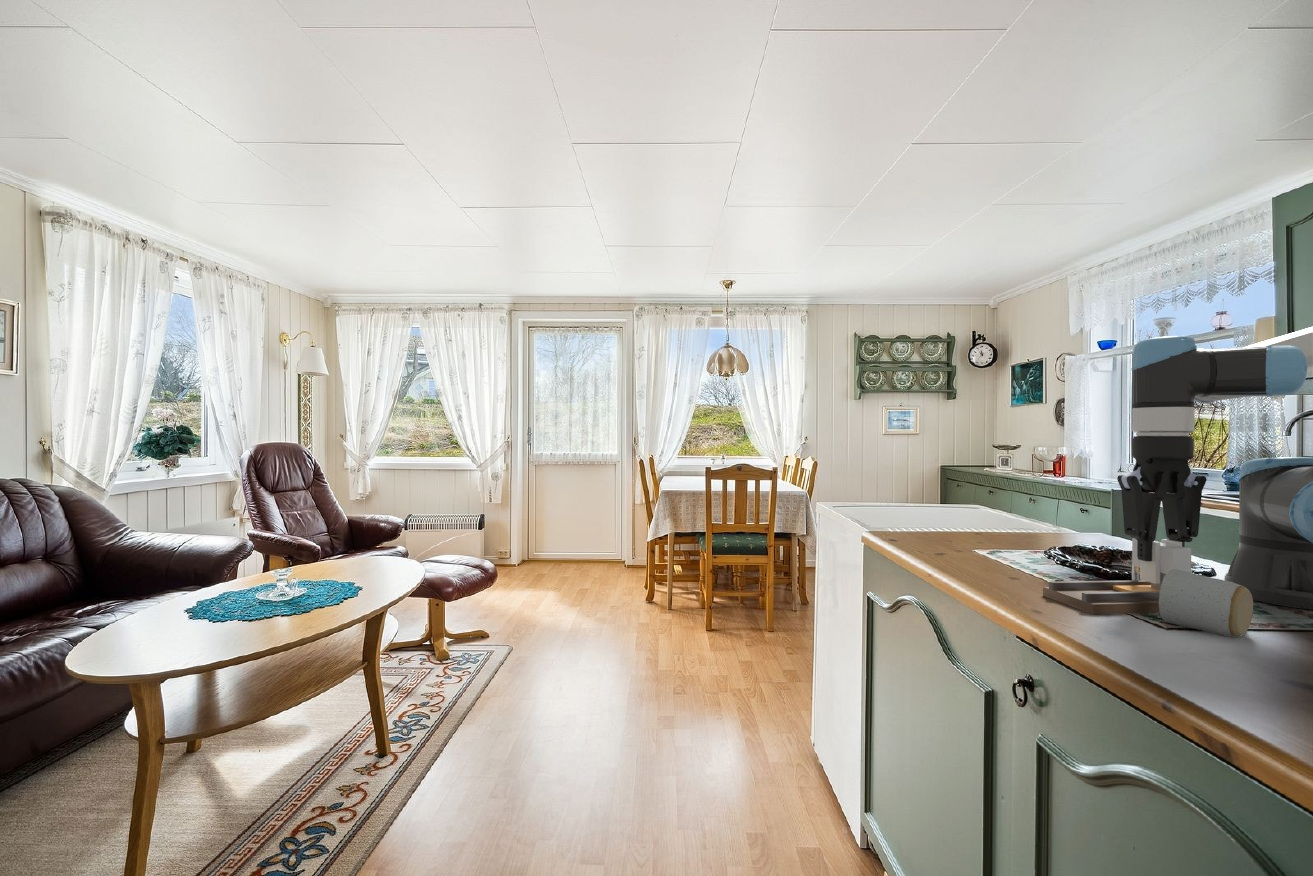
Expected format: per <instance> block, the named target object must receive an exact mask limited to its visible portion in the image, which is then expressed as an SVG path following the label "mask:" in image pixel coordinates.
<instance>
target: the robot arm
mask: <svg viewBox="0 0 1313 876" xmlns="http://www.w3.org/2000/svg"><path fill="white" fill-rule="evenodd" d="M1131 365H1132V367H1131V370H1130V371H1132V378H1131V379H1132V408H1131V409H1132V412H1131V413H1132V414H1131V415H1132V417H1131V418H1132V419H1131V431H1132V432H1133V433H1136V435H1135V436H1133V438H1131V457H1132V458H1134V460H1135V465H1134V467H1132V472H1129V473H1128V474H1126V475H1125V474H1120V475H1117V482H1118V486H1119V487H1120V489H1121V503H1122V513H1123V515H1122V517H1123V529H1124V530H1123V531H1124V532H1123V533H1124V534H1125V535H1126V536H1130V537H1131V538H1135V539H1137V550H1138V551H1137V557H1138V560H1140V567H1139V580H1144V581H1148V582H1151V583H1155V584H1160V542H1162V543H1167V544H1172V545H1177V546H1182V547H1186V546H1185V543H1191V542H1192V541H1193V539H1194V538H1197V537H1198V535H1199V531H1200V516H1201V506H1202V495H1203V490H1204V487H1205V485H1206V483H1207V477H1206V476H1204V475H1197V474H1194V473H1193V472H1191V471H1192V469H1191V468H1190V466H1189V461H1190V460H1193V458H1194V457H1195V438H1193V436H1190V433H1195V402H1199V403H1205V404H1206V403H1207V404H1209V403H1213V402H1217V401H1223V400H1232V399H1239V398H1246V397H1247V398H1248V397H1268V398H1272V397H1275V396H1277V397H1278V396H1291V395H1293V394H1296V393H1297V392H1299V391H1300V390H1301V389H1302V388H1303V386H1304V384H1305V382H1306V380H1307V379H1306V378H1307V377H1311V376H1313V326H1311V327H1307V328H1304V329H1301V330H1297V331H1295V332H1290V333H1288V334H1284V335H1281V336H1277V337H1273V338H1269V339H1267V340H1264V341H1260V342H1256V343H1254V344H1250V345H1247V346H1242V347H1227V348H1225V347H1224V348H1223V347H1222V348H1197V344H1196V340H1195V339H1194V337H1192V336H1188V335H1187V336H1186V335H1169V336H1159V337H1151V338H1145V339H1143V340H1141V341H1139V342H1137V343H1136V344H1135V346H1134V347H1133V357H1132V364H1131ZM1237 481H1238V484H1239V486H1238V487H1239V490H1238V491H1239V492H1238V494H1239V499H1238V501H1239V502H1238V503H1239V504H1238V505H1239V507H1238V508H1239V511H1238V513H1239V515H1238V516H1239V517H1238V521H1239V522H1238V523H1239V524H1238V525H1239V527H1238V529H1239V530H1238V532H1239V533H1238V535H1239V536H1238V537H1239V538H1238V549H1237V551H1236V553H1235V554H1234V557H1233V559H1232V561H1231V563H1230V566H1229V568H1228V571H1227V573H1226V574H1225V575H1224V579H1223V580H1225V581H1229V582H1233V583H1236V584H1239V585H1241V586H1244V587H1246V588H1247V589H1248V590H1249V591H1250V593H1251V595H1252V598H1253V601H1257V602H1261V603H1265V604H1272V605H1278V606H1283V607H1290V608H1296V609H1303V610H1304V609H1305V610H1313V457H1311V456H1309V457H1307V456H1297V457H1296V456H1290V457H1289V456H1288V457H1287V456H1286V457H1282V456H1281V457H1262V458H1255V459H1250V460H1247V461H1245V462H1243V463H1242V465H1241V466H1240V473H1239V476H1238V479H1237ZM1161 505H1162V506H1161ZM1161 507H1162V512H1163V513H1162V514H1163V519H1164V529H1165V536H1166V538H1164V539H1163V538H1161V541H1157V542H1156V538H1157V531H1158V525H1159V523H1158V522H1159V519H1160V518H1159V517H1160V511H1161Z"/></svg>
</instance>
